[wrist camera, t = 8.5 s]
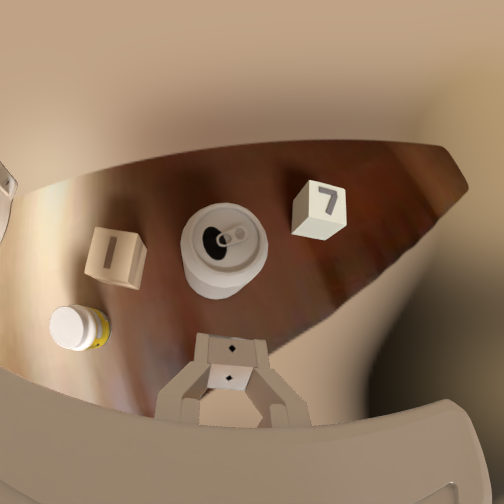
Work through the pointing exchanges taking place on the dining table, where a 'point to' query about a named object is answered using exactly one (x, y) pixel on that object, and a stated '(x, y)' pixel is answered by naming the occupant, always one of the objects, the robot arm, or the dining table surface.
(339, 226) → the cream white block seven
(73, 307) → the supplement bottle
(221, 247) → the can
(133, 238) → the birch block one
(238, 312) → the dining table surface
